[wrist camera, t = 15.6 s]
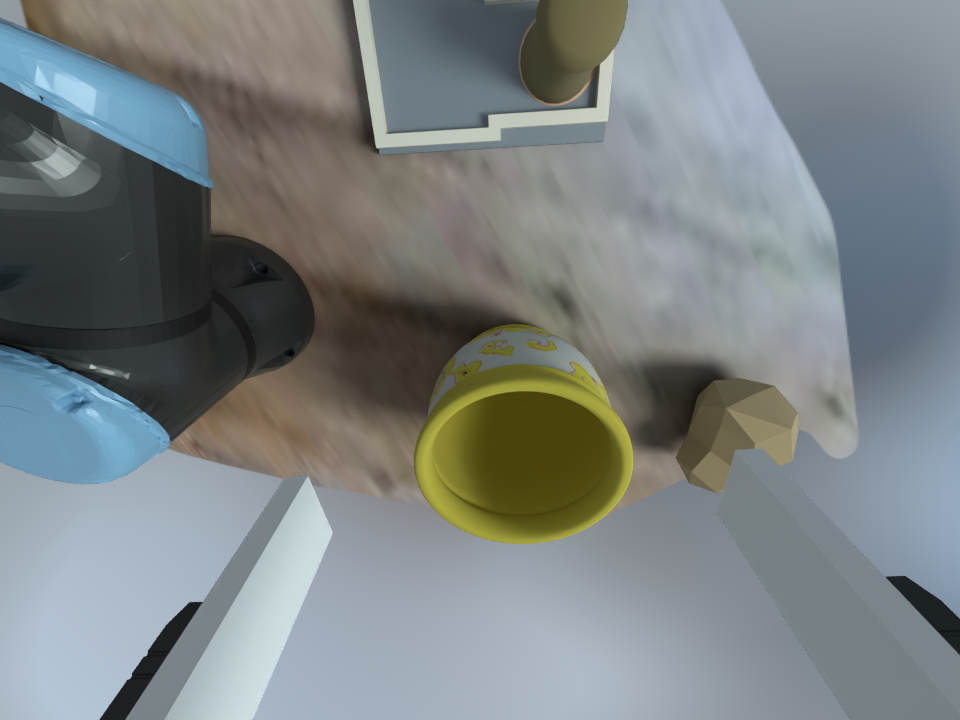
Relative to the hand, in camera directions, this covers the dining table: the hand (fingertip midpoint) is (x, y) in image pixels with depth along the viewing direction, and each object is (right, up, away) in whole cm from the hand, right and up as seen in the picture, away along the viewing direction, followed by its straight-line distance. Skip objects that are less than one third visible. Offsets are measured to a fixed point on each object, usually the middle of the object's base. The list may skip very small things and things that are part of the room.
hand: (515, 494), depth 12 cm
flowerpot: (+3, +3, +33) cm, 34 cm away
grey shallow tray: (0, +29, +19) cm, 35 cm away
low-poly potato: (+27, -2, +35) cm, 44 cm away
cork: (+5, +29, +18) cm, 34 cm away
